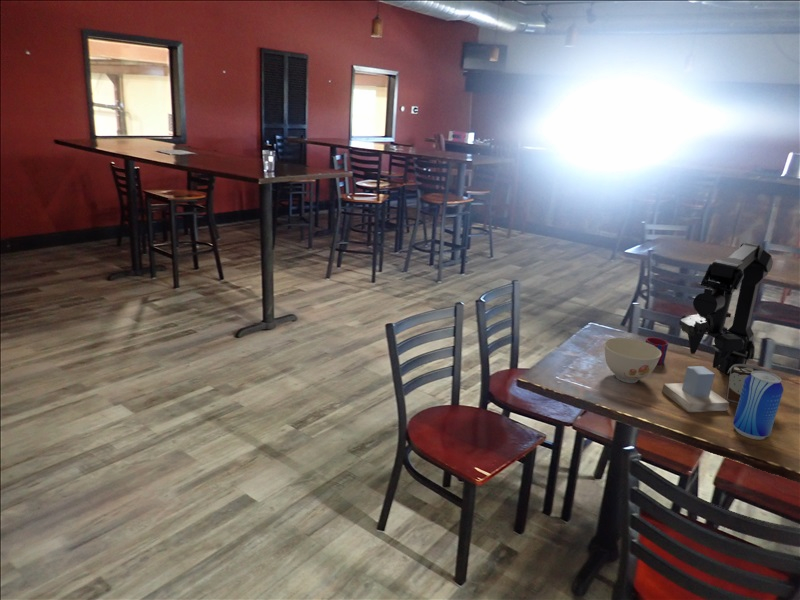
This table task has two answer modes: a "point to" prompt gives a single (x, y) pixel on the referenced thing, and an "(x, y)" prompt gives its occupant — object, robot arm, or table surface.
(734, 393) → the food container
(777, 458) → the table surface
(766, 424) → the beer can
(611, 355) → the bowl
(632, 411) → the table surface
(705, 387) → the slate block
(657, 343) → the mug
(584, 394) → the table surface
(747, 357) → the robot arm
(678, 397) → the birch base
